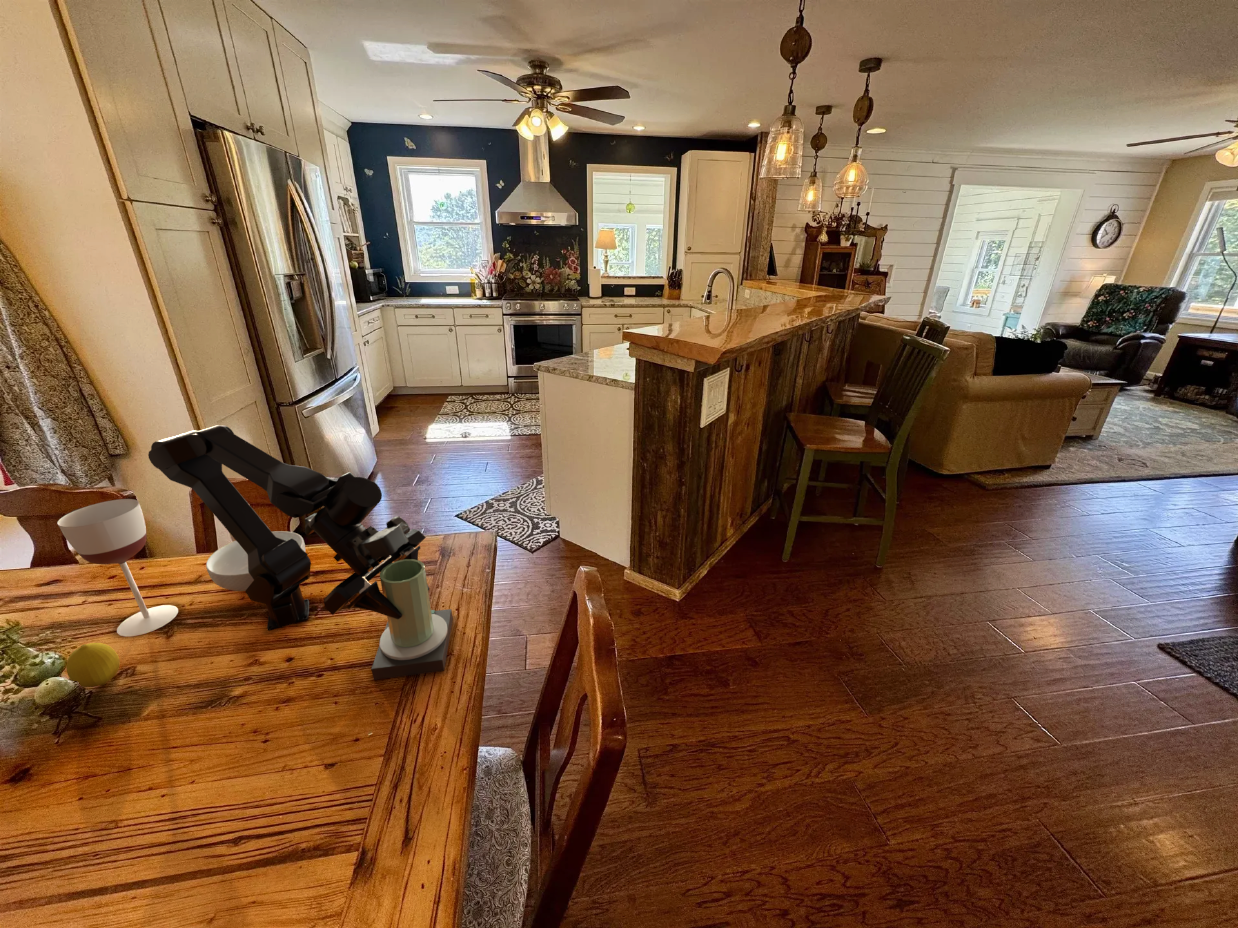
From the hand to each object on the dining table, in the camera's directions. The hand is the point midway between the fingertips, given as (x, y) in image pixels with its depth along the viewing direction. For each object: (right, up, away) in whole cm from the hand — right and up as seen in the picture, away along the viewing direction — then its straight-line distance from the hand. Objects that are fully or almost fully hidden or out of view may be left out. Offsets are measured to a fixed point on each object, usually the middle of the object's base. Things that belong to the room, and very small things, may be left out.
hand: (414, 604), depth 83 cm
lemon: (-48, -12, -4) cm, 50 cm away
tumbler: (-2, -6, +3) cm, 7 cm away
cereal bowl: (-41, -1, +22) cm, 46 cm away
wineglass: (-54, -6, +10) cm, 55 cm away
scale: (-1, -9, +4) cm, 10 cm away
